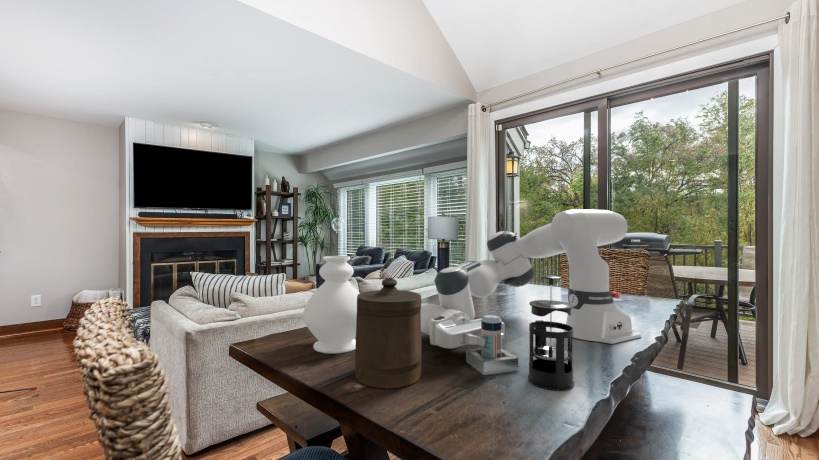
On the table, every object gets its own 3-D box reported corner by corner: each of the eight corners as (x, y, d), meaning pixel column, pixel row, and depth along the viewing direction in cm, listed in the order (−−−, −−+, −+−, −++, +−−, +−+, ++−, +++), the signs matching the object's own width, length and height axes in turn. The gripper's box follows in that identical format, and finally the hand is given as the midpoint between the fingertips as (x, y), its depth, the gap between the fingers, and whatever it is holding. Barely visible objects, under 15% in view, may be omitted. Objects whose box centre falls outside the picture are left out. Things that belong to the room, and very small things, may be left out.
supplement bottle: (499, 362, 92) (500, 314, 91) (502, 370, 87) (503, 319, 87) (480, 362, 92) (480, 313, 92) (482, 369, 87) (482, 318, 87)
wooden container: (425, 365, 90) (425, 274, 90) (415, 392, 75) (415, 283, 75) (366, 361, 92) (366, 273, 92) (345, 386, 78) (345, 281, 78)
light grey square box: (497, 357, 95) (497, 346, 95) (518, 370, 86) (518, 357, 86) (465, 361, 92) (466, 349, 92) (483, 375, 84) (483, 362, 84)
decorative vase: (377, 351, 100) (377, 258, 100) (310, 361, 92) (310, 260, 92) (357, 333, 116) (357, 253, 116) (298, 341, 108) (298, 255, 108)
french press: (584, 391, 76) (585, 279, 75) (539, 393, 75) (540, 279, 75) (557, 369, 87) (558, 272, 87) (518, 370, 87) (519, 272, 86)
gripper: (482, 332, 106) (521, 345, 95) (425, 345, 94) (463, 361, 83) (482, 310, 106) (522, 320, 95) (425, 320, 94) (463, 333, 83)
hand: (494, 339), depth 89 cm, fingers closed on supplement bottle, 5 cm apart
